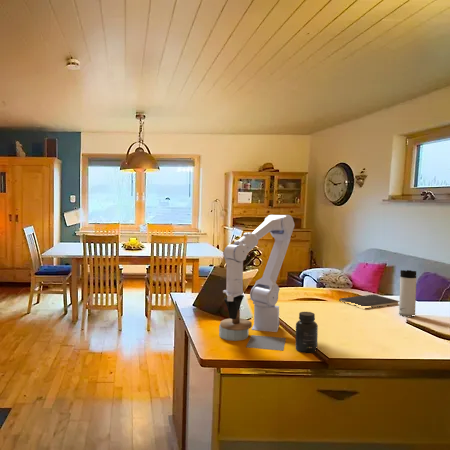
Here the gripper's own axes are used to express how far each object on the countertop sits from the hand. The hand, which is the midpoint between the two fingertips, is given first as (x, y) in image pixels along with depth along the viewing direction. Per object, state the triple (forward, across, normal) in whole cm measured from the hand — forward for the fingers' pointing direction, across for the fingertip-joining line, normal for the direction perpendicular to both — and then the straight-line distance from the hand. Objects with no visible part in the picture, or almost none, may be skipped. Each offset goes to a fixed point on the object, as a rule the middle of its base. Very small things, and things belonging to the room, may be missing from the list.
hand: (234, 317), depth 132 cm
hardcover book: (+8, -65, +54) cm, 85 cm away
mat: (+7, +4, +12) cm, 14 cm away
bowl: (+7, 0, 0) cm, 7 cm away
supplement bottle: (+7, +7, +25) cm, 27 cm away
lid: (+3, 0, +1) cm, 3 cm away
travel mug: (+7, -46, +67) cm, 82 cm away
